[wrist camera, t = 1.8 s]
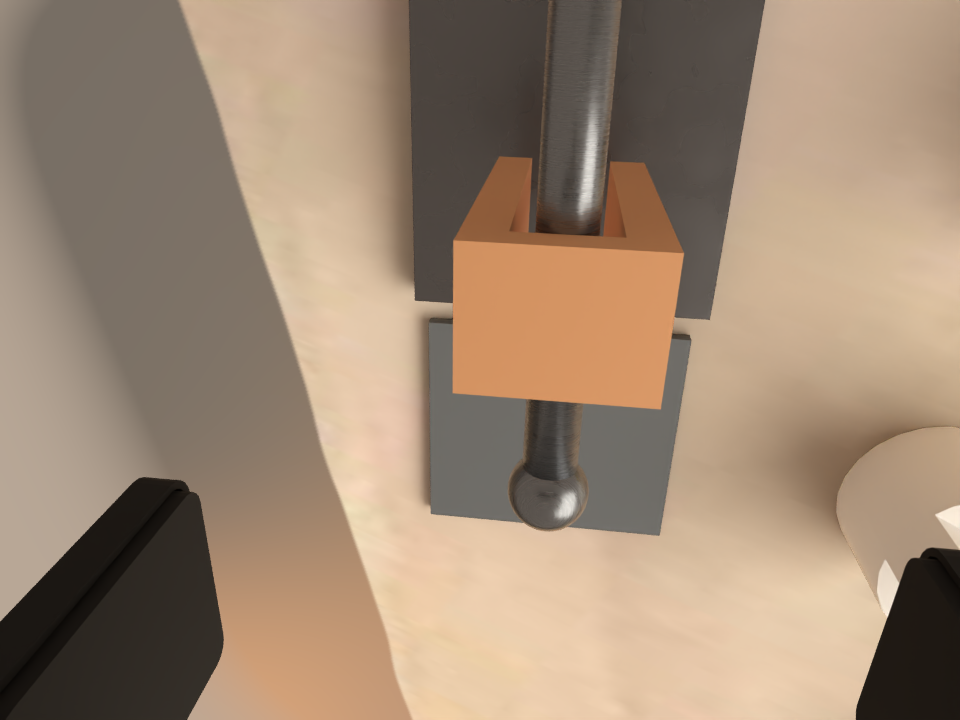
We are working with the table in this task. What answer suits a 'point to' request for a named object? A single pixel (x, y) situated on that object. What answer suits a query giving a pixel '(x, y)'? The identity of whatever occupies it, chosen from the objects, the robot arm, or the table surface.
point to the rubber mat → (500, 437)
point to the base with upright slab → (901, 504)
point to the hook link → (565, 296)
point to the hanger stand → (576, 151)
